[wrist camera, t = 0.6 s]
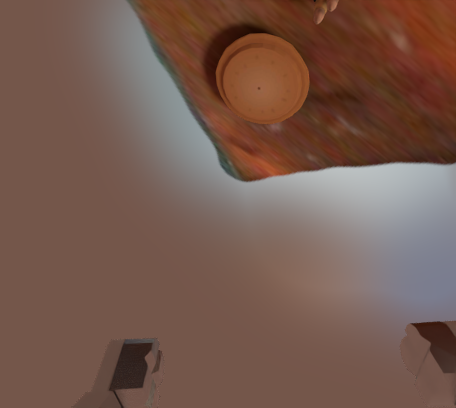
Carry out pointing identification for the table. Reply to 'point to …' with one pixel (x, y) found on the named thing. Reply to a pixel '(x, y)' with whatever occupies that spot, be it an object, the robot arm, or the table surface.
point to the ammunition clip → (323, 8)
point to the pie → (262, 78)
